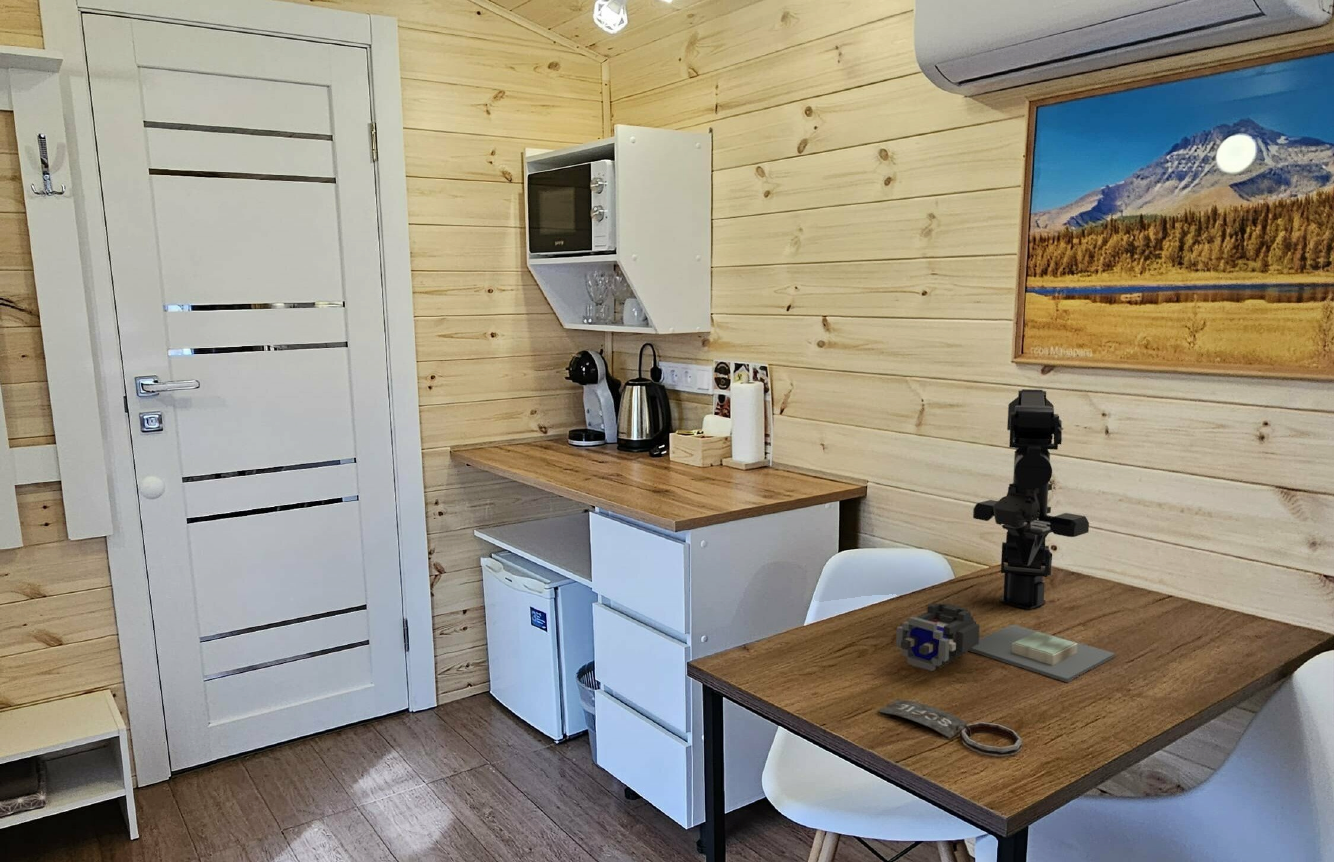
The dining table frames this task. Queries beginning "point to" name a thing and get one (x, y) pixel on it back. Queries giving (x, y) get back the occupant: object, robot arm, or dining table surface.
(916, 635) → the toy
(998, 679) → the dining table surface
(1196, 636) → the dining table surface
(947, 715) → the keychain
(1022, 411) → the robot arm
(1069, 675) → the mat
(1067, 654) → the tile
